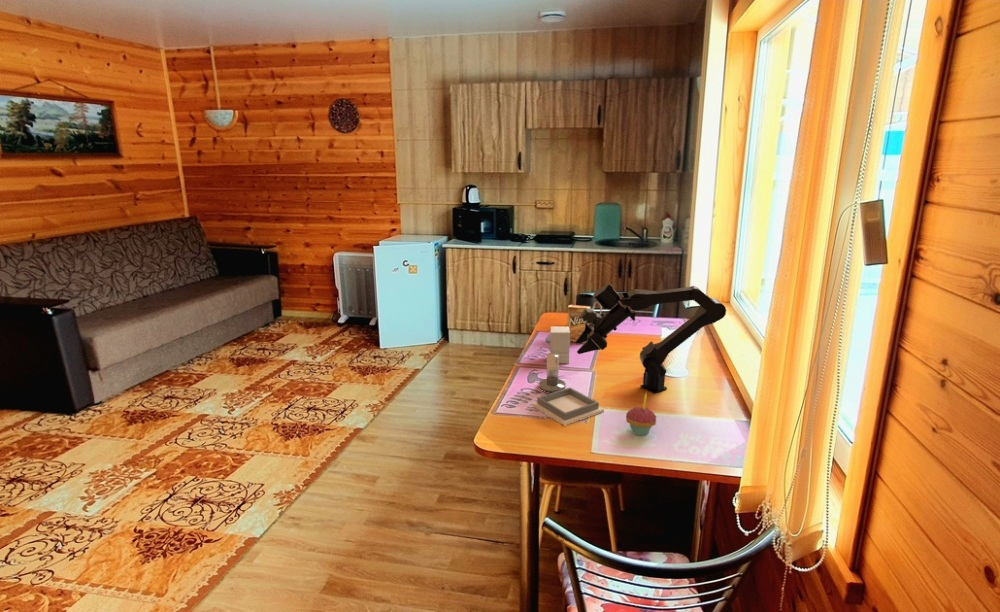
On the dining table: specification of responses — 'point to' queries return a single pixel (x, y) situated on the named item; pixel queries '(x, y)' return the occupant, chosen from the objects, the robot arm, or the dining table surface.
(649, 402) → the dining table surface
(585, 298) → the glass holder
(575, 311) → the candy box
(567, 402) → the board
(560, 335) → the supplement box
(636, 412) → the cupcake
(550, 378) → the flared base peg
